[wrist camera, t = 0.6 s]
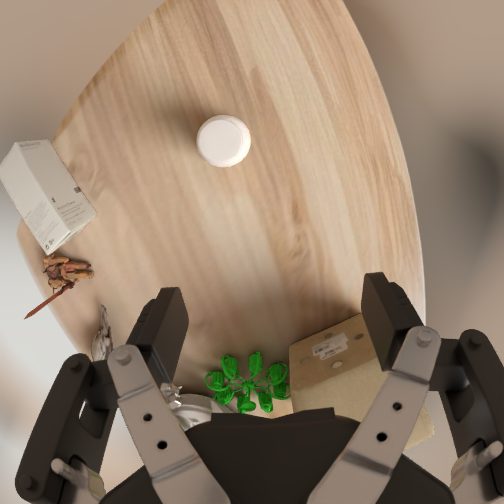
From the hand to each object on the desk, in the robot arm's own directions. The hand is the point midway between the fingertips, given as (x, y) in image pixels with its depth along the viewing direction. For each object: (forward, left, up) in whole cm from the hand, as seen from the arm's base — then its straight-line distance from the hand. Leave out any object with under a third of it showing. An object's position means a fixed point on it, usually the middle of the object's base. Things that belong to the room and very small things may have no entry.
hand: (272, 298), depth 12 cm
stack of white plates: (+37, -22, -25) cm, 50 cm away
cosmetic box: (-3, -25, -22) cm, 33 cm away
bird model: (+15, -31, -26) cm, 43 cm away
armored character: (+4, -26, -20) cm, 33 cm away
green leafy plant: (+30, -10, -25) cm, 41 cm away
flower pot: (+21, +4, -18) cm, 28 cm away
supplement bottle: (-7, -2, -26) cm, 27 cm away
